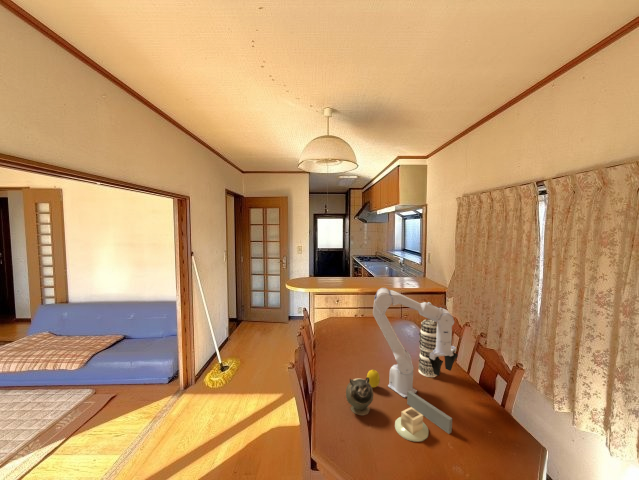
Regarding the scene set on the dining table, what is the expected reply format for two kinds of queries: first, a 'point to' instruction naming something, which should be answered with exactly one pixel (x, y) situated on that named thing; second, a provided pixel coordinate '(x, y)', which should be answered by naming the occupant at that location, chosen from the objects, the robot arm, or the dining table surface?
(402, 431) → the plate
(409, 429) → the cube
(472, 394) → the dining table surface
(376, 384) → the lemon
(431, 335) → the decorative candle
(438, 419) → the grey rectangular bar
